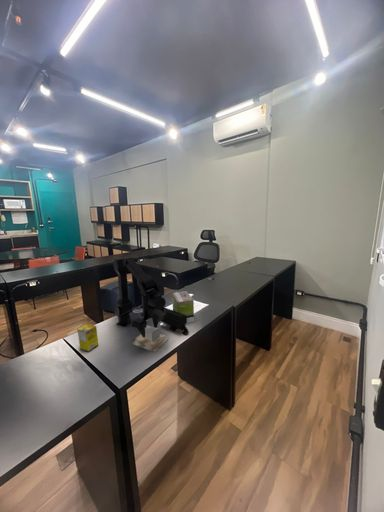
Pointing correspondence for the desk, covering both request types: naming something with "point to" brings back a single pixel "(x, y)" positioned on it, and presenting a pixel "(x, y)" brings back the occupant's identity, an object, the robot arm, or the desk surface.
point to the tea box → (183, 305)
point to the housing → (151, 333)
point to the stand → (150, 343)
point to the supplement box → (88, 337)
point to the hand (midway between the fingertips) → (149, 332)
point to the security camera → (176, 321)
